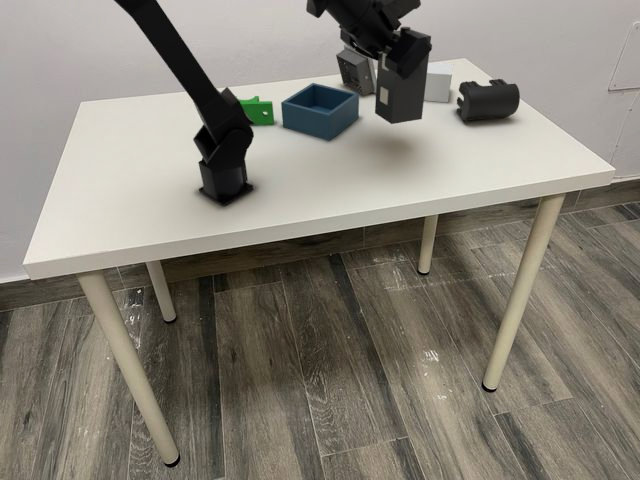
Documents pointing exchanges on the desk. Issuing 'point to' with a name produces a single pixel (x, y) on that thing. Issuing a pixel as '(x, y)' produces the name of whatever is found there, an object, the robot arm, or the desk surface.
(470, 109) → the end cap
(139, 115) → the desk surface
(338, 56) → the electrical switch
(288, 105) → the compartment
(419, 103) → the tower
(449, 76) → the white cube
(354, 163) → the desk surface
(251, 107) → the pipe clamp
